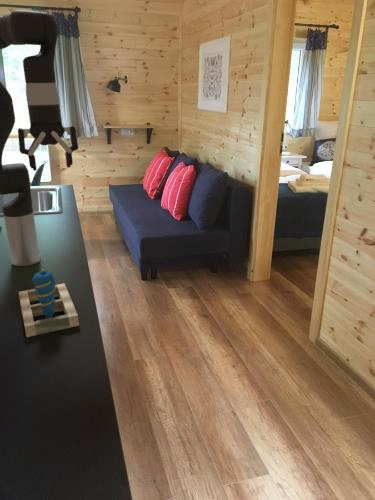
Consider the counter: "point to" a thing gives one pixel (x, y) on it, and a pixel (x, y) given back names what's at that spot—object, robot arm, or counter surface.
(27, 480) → the counter surface
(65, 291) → the wooden frame
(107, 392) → the counter surface
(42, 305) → the ornament
